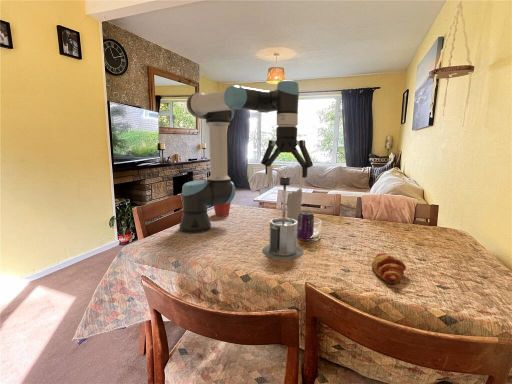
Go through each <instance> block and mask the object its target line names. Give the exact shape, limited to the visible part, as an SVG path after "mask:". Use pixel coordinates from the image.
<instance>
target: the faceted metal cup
mask: <svg viewBox="0 0 512 384" xmlns="http://www.w3.org/2000/svg"><path fill="white" fill-rule="evenodd" d="M279 221H282V217H276V218H275V217H274V218H272V219H270V220H269V252H270V253H271V254H273V255H275V256H281V257H288V256H293V255H295V254H296V253H297V249H296V248H297V247H298V244H297V243H298V241H297V240H298V237H297V224H298V223H297V221H296V220H294V219H290V218H287V217H285V221H286V222H291V223H293V224H291V225H279V224H274V222H279Z"/></svg>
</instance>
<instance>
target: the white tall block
mask: <svg viewBox="0 0 512 384" xmlns="http://www.w3.org/2000/svg"><path fill="white" fill-rule="evenodd" d="M302 198H303V190H302V187H298V189H297V191H291V192H288V194H287V197H286V207H287V208H286V209H287V212H286V218H290V219H294V220H296V221H297V223H298V215H299V212H301V211H302ZM297 226H298V224H297Z"/></svg>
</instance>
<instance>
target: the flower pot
mask: <svg viewBox="0 0 512 384" xmlns="http://www.w3.org/2000/svg"><path fill="white" fill-rule="evenodd" d="M231 203H232V201H231V202H230V203H226V204H223V205H222V204H220V205H213V210H214V213H215V214H214V215H215V217H220V216H221V217H222V216H223V217H227V216H229V215H230V211H231V210H230V209H231V205H232V204H231Z"/></svg>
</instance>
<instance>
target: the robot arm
mask: <svg viewBox="0 0 512 384" xmlns="http://www.w3.org/2000/svg"><path fill="white" fill-rule="evenodd" d="M299 89H300V88H299V83H298V81H296V80H290V79H288V80H287V79H284V80H280V81H278V82H277V86H276V89H272V90H264V89H259V88H254V87H253V88H251V87H246V86H242V85H232V84H231V85H229V86H227V88H225V89H224V90H218V91H212V92H208V93H204V92H195V93H191V94H190V95H189V96H188V98H187V100H186V109H187V111H188V113H189V114H190V115H191V116H193V117H194V118H197V119H199V120H200V119H201V120H202V119H203V120H205V124H206V125H207V126H208V129H209V130H208V132H209V133H208V134H209V161H210V162H209V170H210V172H209V174H210V175H209V176H208V178H207V181H206V180H202V179H200V180H198V179H197V180H192V181H191V180H190V181H188V182H185V183H184V184H183V185H182V186H181V187H182V189H181V198H182V215H181V221H180V223H179V232H182V233H187V234H199V233H205V232H208V231H210V230H211V229H212V223H211V221H210V218H209V215H208V207H211V206H213V207H214V205H220V204H222V205H223V204H226V203H230V202H231V203H232V201H234V198H235V196H236V186H235V183H234V182H233V181H231V177H230V176H229V175H228V137H227V136H228V131H227V130H228V129H227V128H228V126H229V125H230V122H231V121H232V120H233V119H234V116H235V111H236V110H246V111H247V110H249V111H257V112H258V113H267V114H268V113H270V112H276V126H277V127H276V133H275V136H276V140H273V139H269V140H268V144H267V148H266V150H265V152H264V155H263V157H262V160H261V161H260V164H261V165H263V166H265V172H264V173H265V175H266V184H269V185H270V184H273V163H274V162H275V160H277V157H279V156H280V154H281V153H287V154H288V153H290V154H292V155H293V156H294V158H295V159H296V161H297V162H298V164H299V165H300V167H301V168H299V187H298V188H302V187H305V186H306V185H305V182H306V178H307V177H308V169H309V168H311V167H313V166H314V164H313V161H312V158H311V156H310V154H309V152H308V148H307V147H306V141H305V140H304V139H300V140H298V139H297V138H298V128H297V126H298V122H299V121H298V120H299V119H298V117H299V112H298V111H299V95H300V93H299ZM275 146H276V148H275ZM297 146H298V147H299V149H300V152H301V154H300V152H299V150H298V149H297ZM274 148H275V149H274ZM273 150H274V151H273Z"/></svg>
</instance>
